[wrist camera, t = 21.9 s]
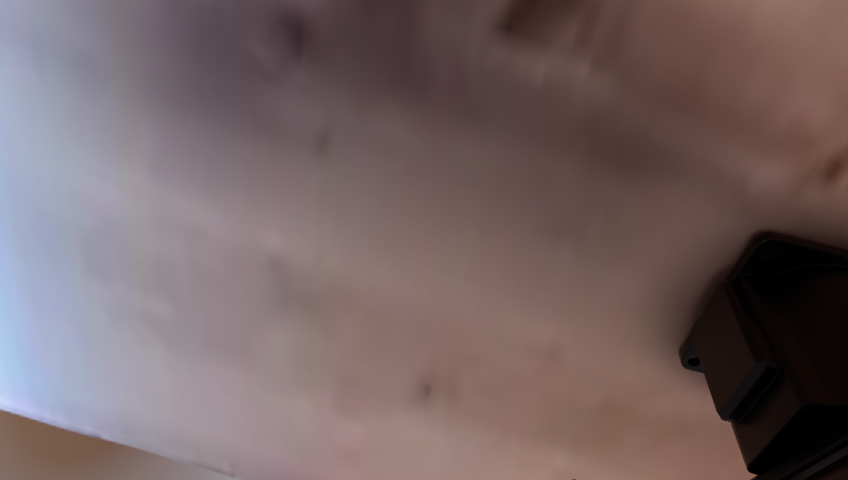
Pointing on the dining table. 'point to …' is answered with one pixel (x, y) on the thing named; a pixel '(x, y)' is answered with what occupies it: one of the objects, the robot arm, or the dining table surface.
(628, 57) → the dining table surface
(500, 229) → the dining table surface
